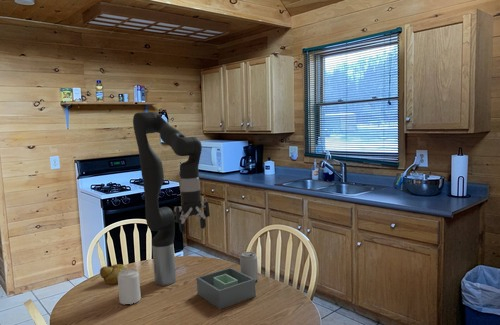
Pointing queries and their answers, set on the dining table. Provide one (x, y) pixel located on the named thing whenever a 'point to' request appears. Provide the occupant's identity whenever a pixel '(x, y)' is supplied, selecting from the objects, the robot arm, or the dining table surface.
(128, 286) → the white cylinder
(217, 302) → the big crate
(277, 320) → the dining table surface
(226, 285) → the small crate
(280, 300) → the dining table surface
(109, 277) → the bread roll
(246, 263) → the can
